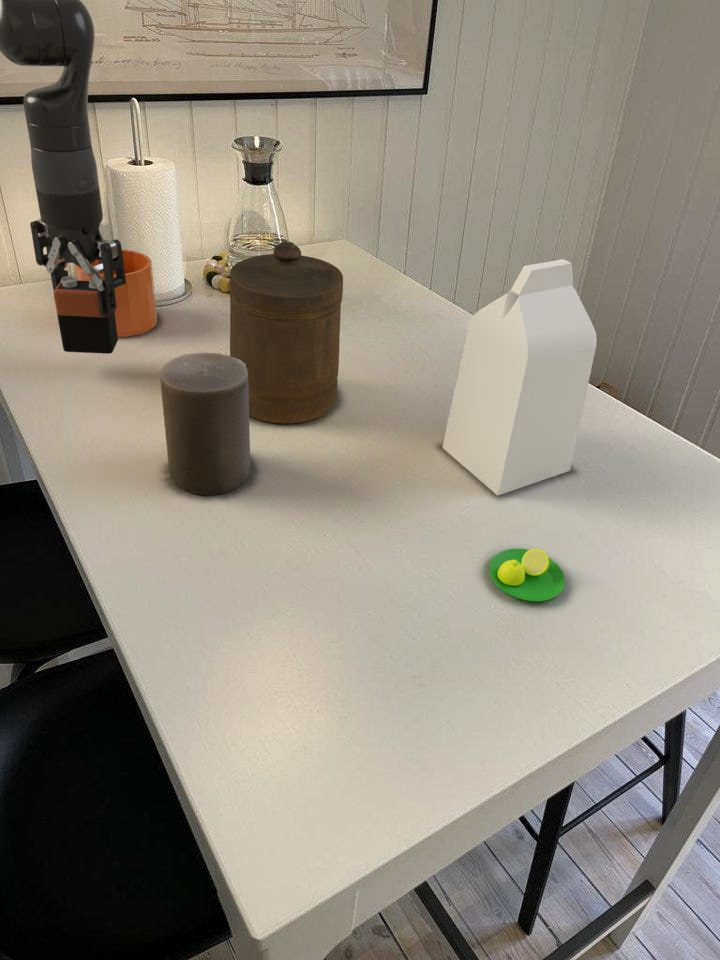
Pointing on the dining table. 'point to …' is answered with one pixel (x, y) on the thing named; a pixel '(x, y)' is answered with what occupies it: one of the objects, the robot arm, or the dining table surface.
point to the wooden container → (287, 333)
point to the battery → (83, 318)
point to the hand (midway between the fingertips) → (85, 306)
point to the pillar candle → (206, 422)
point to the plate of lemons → (527, 574)
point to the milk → (523, 381)
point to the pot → (132, 294)
